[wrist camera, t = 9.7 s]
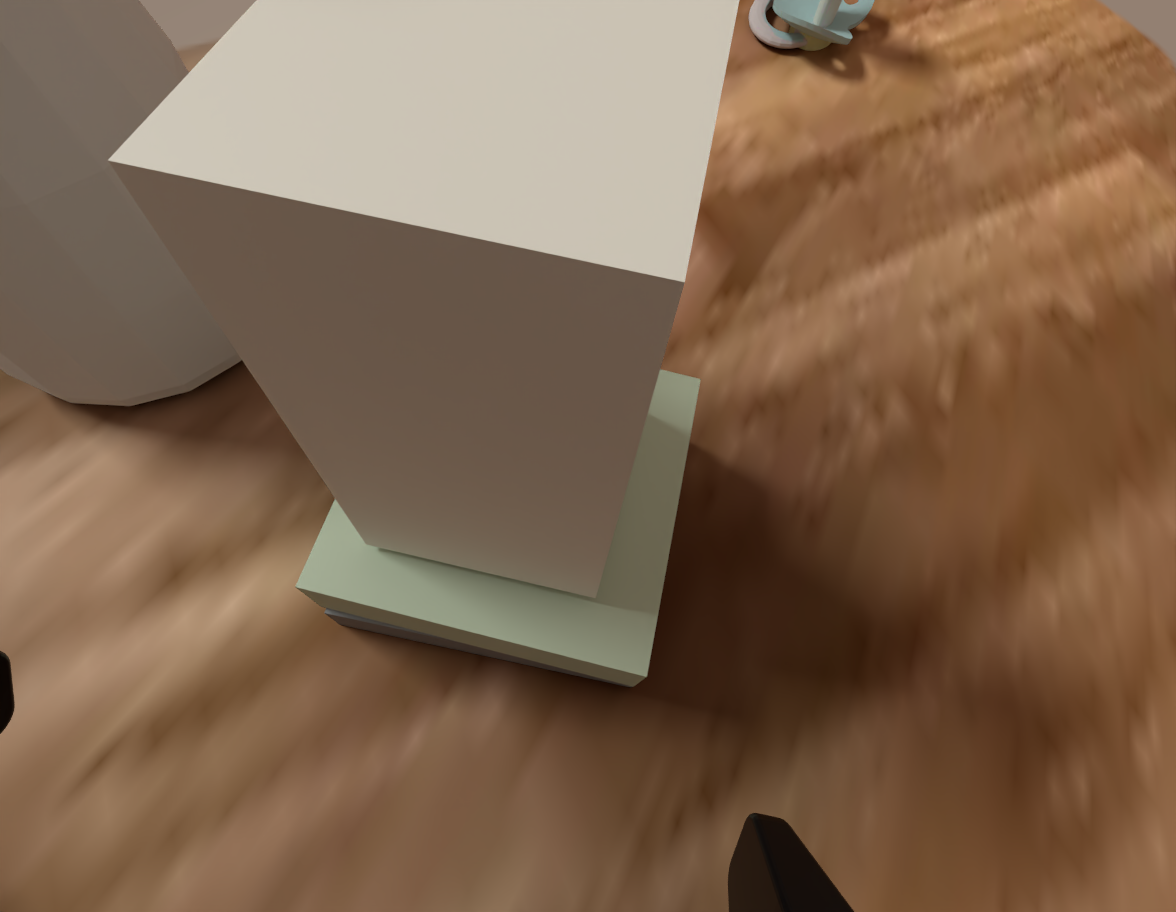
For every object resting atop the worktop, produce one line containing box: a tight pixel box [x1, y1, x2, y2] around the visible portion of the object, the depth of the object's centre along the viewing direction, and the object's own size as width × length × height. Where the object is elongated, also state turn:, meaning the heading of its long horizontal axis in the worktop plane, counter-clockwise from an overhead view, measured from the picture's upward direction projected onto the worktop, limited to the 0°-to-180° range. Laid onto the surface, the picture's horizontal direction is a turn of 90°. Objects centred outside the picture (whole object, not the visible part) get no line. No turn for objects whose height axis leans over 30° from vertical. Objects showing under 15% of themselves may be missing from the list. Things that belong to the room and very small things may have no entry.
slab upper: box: [296, 369, 701, 687], centre depth 19 cm, size 9×9×2 cm
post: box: [108, 0, 739, 598], centre depth 13 cm, size 6×6×11 cm
